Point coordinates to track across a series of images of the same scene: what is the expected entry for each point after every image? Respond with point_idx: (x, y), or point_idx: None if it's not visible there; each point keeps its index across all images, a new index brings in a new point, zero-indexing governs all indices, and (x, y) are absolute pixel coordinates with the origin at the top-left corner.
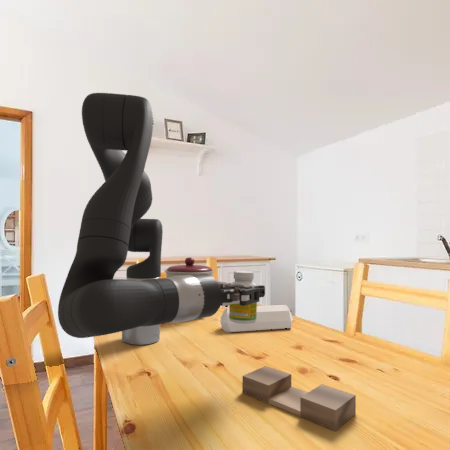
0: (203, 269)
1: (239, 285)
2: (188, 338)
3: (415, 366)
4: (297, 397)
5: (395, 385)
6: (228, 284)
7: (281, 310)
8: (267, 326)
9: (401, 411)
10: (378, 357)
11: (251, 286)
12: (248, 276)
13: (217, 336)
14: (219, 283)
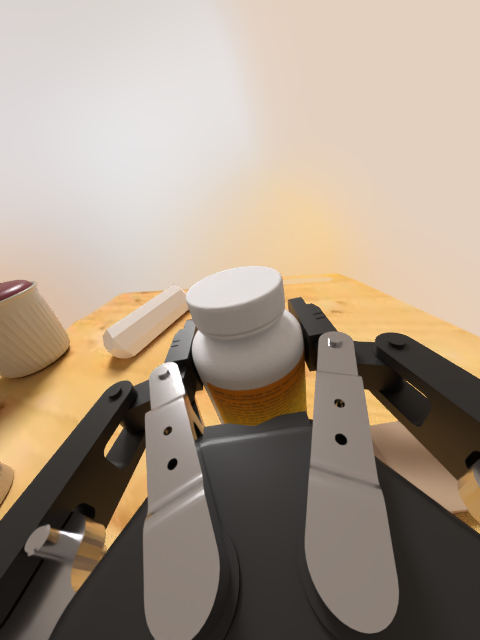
0: (11, 290)
1: (364, 400)
2: (77, 418)
3: (341, 289)
4: (411, 456)
5: (380, 323)
6: (380, 504)
7: (174, 293)
8: (171, 319)
9: (463, 361)
10: (306, 296)
11: (341, 340)
12: (283, 297)
13: (122, 377)
14: (201, 465)
